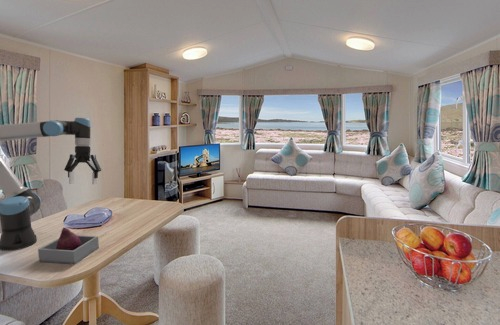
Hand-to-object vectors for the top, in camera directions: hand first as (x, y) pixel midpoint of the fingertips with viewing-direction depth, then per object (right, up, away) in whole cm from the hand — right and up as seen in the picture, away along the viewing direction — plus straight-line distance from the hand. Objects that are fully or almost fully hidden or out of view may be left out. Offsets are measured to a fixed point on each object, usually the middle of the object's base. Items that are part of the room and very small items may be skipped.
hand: (82, 183), depth 162 cm
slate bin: (+9, -31, -26) cm, 42 cm away
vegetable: (+9, -31, -26) cm, 41 cm away
